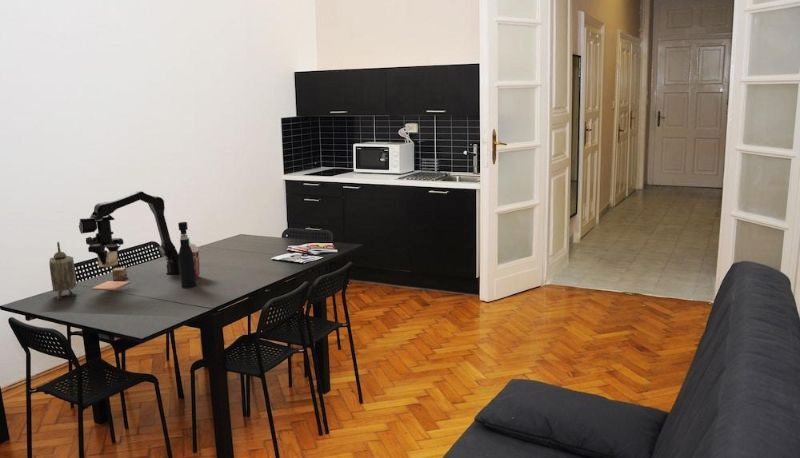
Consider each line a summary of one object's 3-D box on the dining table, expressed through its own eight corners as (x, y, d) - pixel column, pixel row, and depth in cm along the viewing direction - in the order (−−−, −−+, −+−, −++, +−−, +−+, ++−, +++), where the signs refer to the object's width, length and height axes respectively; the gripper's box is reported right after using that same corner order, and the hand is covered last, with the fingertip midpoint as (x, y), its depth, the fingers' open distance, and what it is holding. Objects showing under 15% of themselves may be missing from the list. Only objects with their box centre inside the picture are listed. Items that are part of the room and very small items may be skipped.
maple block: (118, 263, 328) (116, 251, 327) (110, 266, 322) (108, 254, 321) (106, 263, 329) (105, 251, 328) (98, 266, 324) (97, 254, 323)
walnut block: (127, 277, 344) (126, 267, 343) (123, 279, 339) (122, 269, 338) (117, 277, 344) (115, 267, 343) (113, 280, 339) (112, 270, 338)
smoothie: (205, 276, 339) (201, 236, 335) (193, 280, 331) (189, 239, 327) (191, 275, 342) (187, 235, 338) (180, 279, 335) (175, 238, 331)
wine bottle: (183, 288, 318) (176, 224, 312) (180, 285, 323) (174, 222, 318) (197, 286, 321) (191, 222, 315) (194, 283, 326) (188, 220, 320)
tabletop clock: (56, 293, 319) (48, 240, 314) (77, 290, 322) (70, 237, 318) (54, 301, 306) (46, 246, 301) (77, 298, 309) (69, 243, 304)
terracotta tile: (129, 282, 332) (129, 281, 332) (114, 289, 321) (114, 288, 321) (107, 282, 335) (107, 281, 335) (91, 289, 324) (91, 288, 323)
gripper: (101, 226, 334) (105, 258, 336) (76, 234, 316) (80, 267, 319) (122, 226, 331) (126, 258, 334) (97, 234, 313) (101, 268, 316)
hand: (108, 263), depth 326 cm, fingers closed on maple block, 6 cm apart
